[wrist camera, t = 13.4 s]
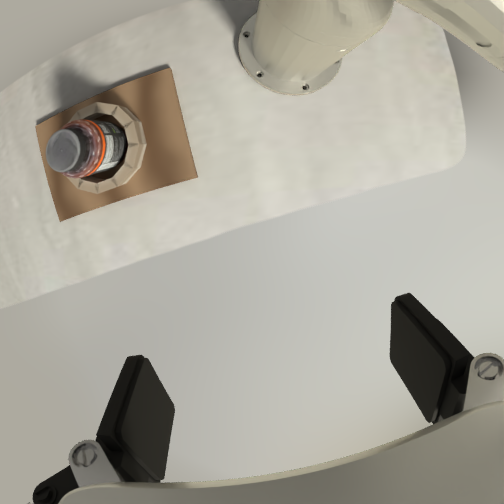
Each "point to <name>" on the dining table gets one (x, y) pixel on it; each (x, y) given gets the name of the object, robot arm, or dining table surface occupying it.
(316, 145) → the dining table surface
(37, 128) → the socket board
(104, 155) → the supplement bottle
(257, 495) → the robot arm
